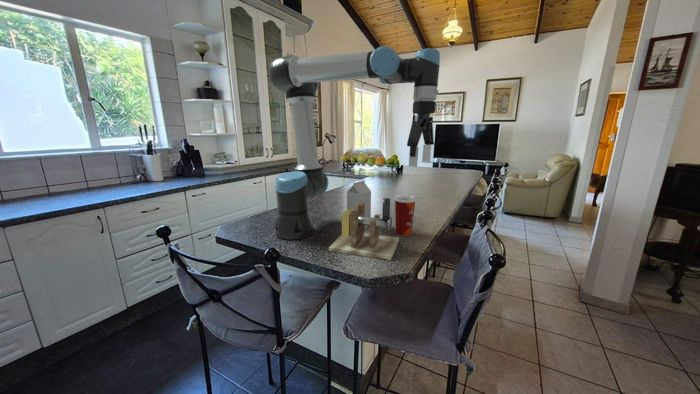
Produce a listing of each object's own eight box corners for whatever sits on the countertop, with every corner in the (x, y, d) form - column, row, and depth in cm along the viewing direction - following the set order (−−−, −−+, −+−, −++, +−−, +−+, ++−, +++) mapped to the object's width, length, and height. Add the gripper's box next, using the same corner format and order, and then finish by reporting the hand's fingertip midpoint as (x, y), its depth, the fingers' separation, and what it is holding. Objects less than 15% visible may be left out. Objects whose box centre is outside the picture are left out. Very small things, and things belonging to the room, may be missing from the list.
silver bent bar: (340, 226, 95) (340, 196, 93) (344, 222, 99) (344, 193, 97) (389, 232, 90) (390, 200, 87) (391, 227, 94) (393, 197, 91)
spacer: (342, 236, 94) (341, 214, 92) (349, 228, 101) (349, 207, 99) (348, 237, 93) (348, 214, 91) (356, 229, 100) (356, 208, 98)
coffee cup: (414, 238, 103) (416, 199, 99) (392, 236, 104) (393, 198, 101) (414, 230, 111) (416, 194, 107) (393, 228, 112) (394, 193, 109)
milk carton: (370, 226, 115) (371, 181, 111) (359, 230, 110) (359, 184, 106) (358, 222, 120) (358, 179, 115) (346, 226, 115) (346, 181, 110)
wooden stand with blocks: (328, 250, 92) (328, 210, 89) (345, 233, 107) (344, 199, 103) (390, 260, 86) (392, 217, 82) (399, 240, 100) (400, 203, 97)
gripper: (423, 97, 80) (417, 169, 85) (445, 103, 100) (440, 161, 105) (399, 98, 84) (395, 167, 89) (425, 104, 104) (421, 160, 109)
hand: (419, 164), depth 97 cm, fingers open, 13 cm apart
